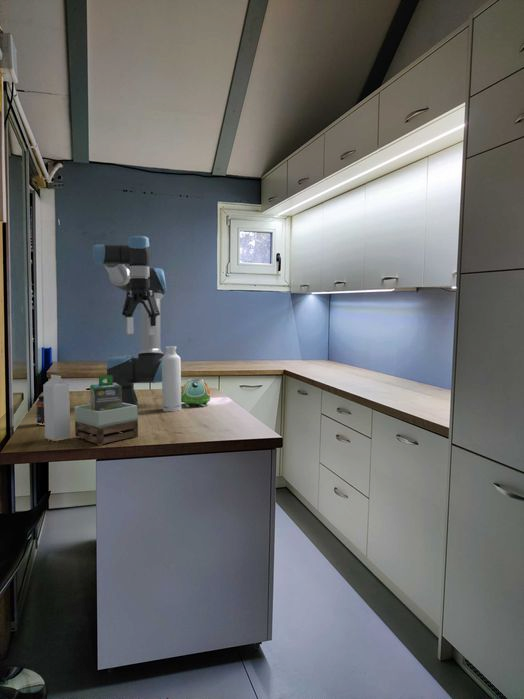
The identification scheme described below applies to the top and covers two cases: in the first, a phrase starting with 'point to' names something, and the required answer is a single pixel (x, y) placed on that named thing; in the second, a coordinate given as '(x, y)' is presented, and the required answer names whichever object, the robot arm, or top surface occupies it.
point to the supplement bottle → (40, 409)
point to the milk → (56, 408)
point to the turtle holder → (195, 392)
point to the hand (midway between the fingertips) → (140, 334)
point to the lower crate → (106, 432)
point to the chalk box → (105, 395)
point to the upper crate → (106, 415)
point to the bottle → (171, 380)
